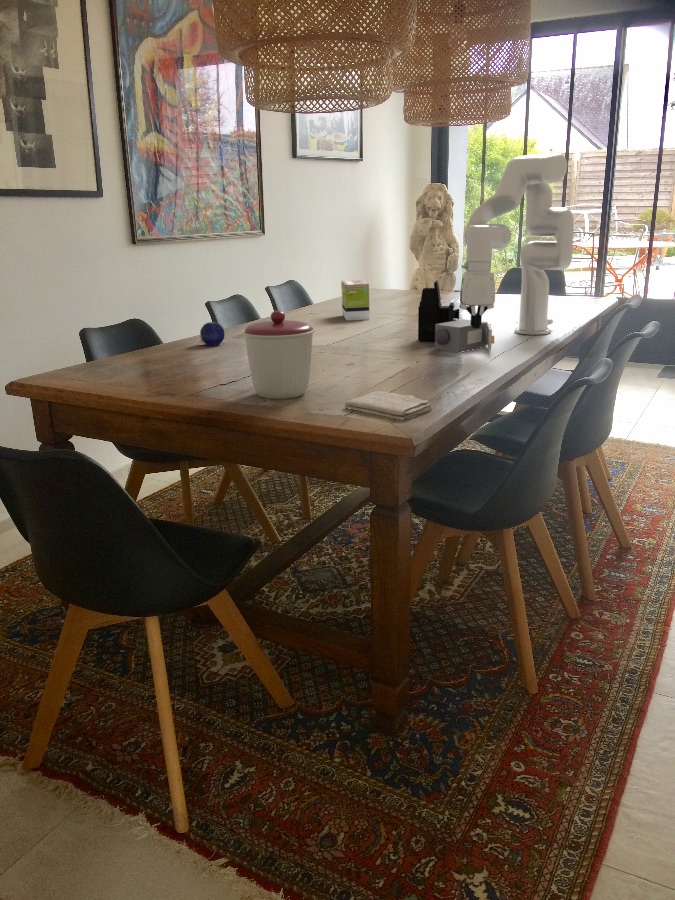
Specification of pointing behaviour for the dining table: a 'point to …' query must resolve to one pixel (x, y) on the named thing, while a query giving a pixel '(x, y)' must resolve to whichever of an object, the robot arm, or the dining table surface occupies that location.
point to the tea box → (355, 300)
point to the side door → (489, 337)
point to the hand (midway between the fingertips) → (475, 327)
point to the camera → (433, 313)
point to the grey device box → (460, 336)
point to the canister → (279, 356)
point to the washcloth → (389, 405)
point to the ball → (211, 334)
